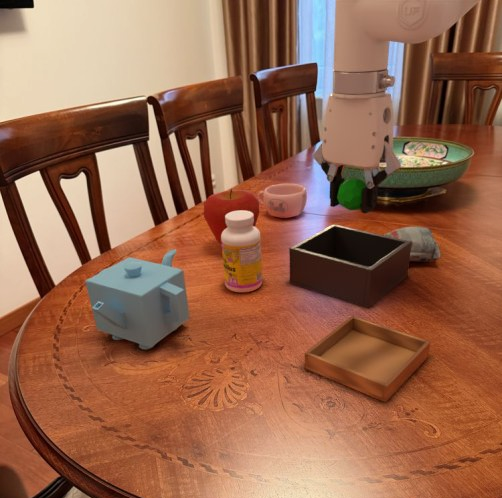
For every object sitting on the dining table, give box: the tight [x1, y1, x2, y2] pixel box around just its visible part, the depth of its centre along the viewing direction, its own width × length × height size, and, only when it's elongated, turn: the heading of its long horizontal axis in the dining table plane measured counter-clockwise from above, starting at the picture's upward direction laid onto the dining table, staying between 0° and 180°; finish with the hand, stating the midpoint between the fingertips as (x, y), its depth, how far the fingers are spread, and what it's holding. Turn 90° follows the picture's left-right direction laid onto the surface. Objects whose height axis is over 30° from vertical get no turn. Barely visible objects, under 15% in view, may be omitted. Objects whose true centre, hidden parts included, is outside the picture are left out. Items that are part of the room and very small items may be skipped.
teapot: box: [84, 248, 191, 350], centre depth 77 cm, size 16×18×11 cm
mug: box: [256, 183, 308, 219], centre depth 120 cm, size 12×10×6 cm
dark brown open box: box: [288, 223, 412, 309], centre depth 89 cm, size 16×14×7 cm
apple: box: [203, 188, 260, 246], centre depth 103 cm, size 11×11×12 cm
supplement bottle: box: [221, 210, 263, 293], centre depth 88 cm, size 7×7×13 cm
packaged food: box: [383, 226, 442, 263], centre depth 97 cm, size 9×12×5 cm
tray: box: [304, 315, 431, 403], centre depth 69 cm, size 12×12×2 cm
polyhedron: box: [337, 177, 366, 211], centre depth 83 cm, size 5×5×5 cm
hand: (352, 206), depth 84 cm, fingers closed on polyhedron, 5 cm apart
